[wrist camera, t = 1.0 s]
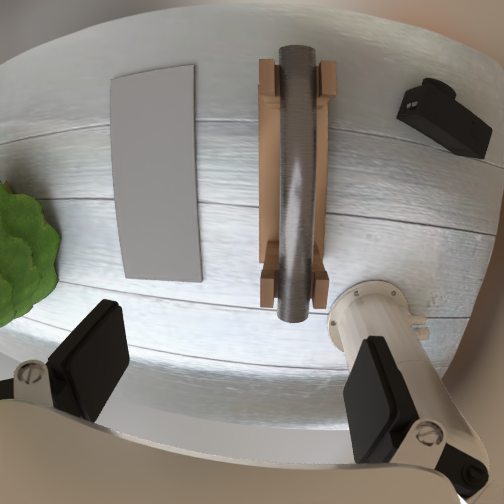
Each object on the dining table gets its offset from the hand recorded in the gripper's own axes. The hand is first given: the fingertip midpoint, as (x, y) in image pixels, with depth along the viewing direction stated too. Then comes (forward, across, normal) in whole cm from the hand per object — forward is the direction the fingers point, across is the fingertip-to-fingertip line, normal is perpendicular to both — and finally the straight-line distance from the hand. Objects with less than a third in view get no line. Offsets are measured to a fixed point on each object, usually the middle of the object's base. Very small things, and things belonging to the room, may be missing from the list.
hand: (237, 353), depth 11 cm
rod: (+18, -3, -4) cm, 19 cm away
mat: (+29, +15, -2) cm, 32 cm away
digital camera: (+29, -21, -15) cm, 38 cm away
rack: (+28, -3, -4) cm, 29 cm away
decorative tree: (+29, +44, +10) cm, 54 cm away
